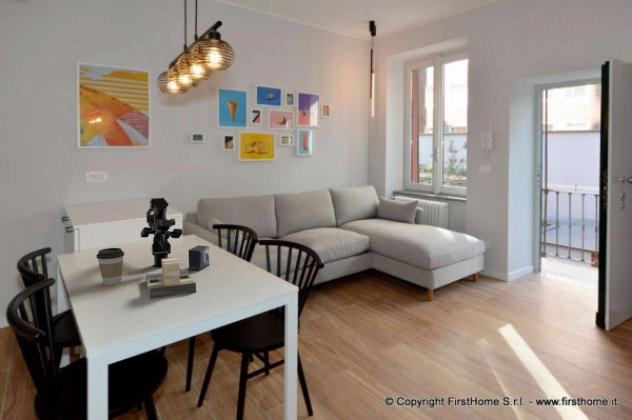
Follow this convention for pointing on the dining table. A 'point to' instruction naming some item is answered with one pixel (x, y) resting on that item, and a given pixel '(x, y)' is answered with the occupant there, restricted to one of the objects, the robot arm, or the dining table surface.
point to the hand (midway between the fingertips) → (164, 248)
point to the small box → (198, 258)
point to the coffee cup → (111, 265)
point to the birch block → (170, 271)
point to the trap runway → (159, 290)
